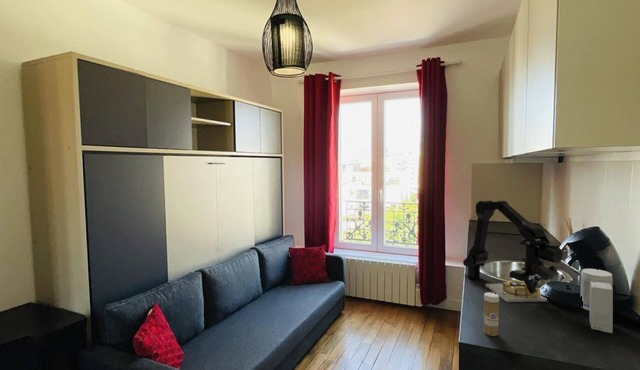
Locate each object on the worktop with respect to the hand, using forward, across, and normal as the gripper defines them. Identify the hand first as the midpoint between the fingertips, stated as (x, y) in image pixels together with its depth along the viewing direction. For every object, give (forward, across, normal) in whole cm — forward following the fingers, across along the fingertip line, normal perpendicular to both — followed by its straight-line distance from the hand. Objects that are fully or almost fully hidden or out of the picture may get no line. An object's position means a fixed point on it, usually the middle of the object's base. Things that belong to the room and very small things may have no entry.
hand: (531, 293), depth 142 cm
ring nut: (+1, +1, +6) cm, 6 cm away
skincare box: (+3, +1, -25) cm, 26 cm away
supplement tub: (+3, +15, -15) cm, 21 cm away
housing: (+3, 0, +8) cm, 8 cm away
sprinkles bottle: (+3, -38, -16) cm, 41 cm away
